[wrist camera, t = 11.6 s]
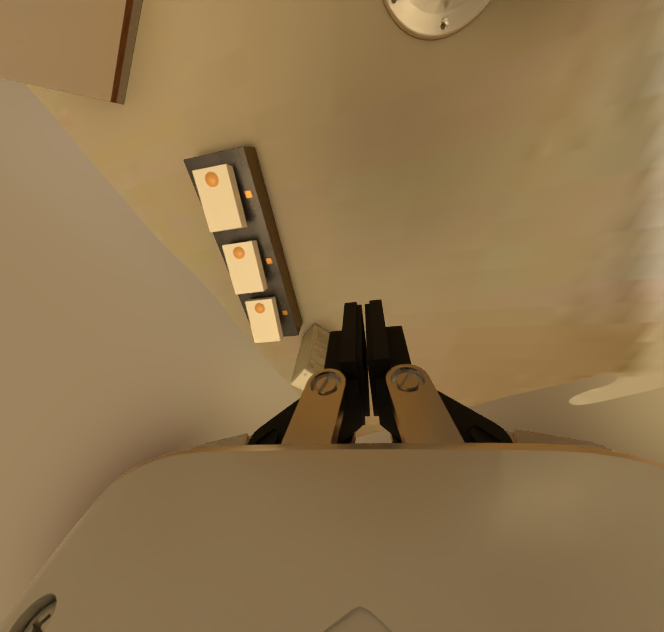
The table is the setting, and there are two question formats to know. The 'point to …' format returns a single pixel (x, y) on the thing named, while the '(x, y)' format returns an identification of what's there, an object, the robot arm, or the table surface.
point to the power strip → (255, 231)
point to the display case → (70, 45)
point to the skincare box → (310, 356)
